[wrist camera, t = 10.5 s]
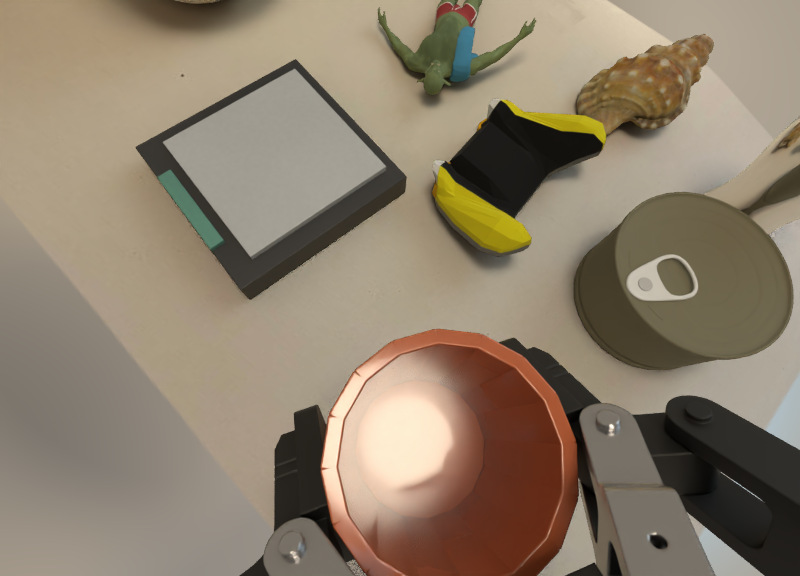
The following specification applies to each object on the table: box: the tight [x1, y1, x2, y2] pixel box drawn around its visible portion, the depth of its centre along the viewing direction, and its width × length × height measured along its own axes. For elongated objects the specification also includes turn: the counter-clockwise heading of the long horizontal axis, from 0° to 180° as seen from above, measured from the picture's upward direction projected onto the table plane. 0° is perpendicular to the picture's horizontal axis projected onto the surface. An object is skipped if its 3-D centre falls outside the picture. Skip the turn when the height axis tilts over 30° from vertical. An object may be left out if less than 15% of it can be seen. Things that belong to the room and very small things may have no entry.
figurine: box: [378, 0, 536, 95], centre depth 41 cm, size 16×4×18 cm
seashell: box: [577, 34, 714, 135], centre depth 38 cm, size 9×8×10 cm
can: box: [574, 192, 793, 370], centre depth 31 cm, size 12×12×7 cm
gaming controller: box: [432, 98, 606, 257], centre depth 34 cm, size 15×6×10 cm
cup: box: [320, 329, 579, 576], centre depth 13 cm, size 6×6×8 cm
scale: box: [136, 59, 406, 299], centre depth 35 cm, size 16×16×3 cm
